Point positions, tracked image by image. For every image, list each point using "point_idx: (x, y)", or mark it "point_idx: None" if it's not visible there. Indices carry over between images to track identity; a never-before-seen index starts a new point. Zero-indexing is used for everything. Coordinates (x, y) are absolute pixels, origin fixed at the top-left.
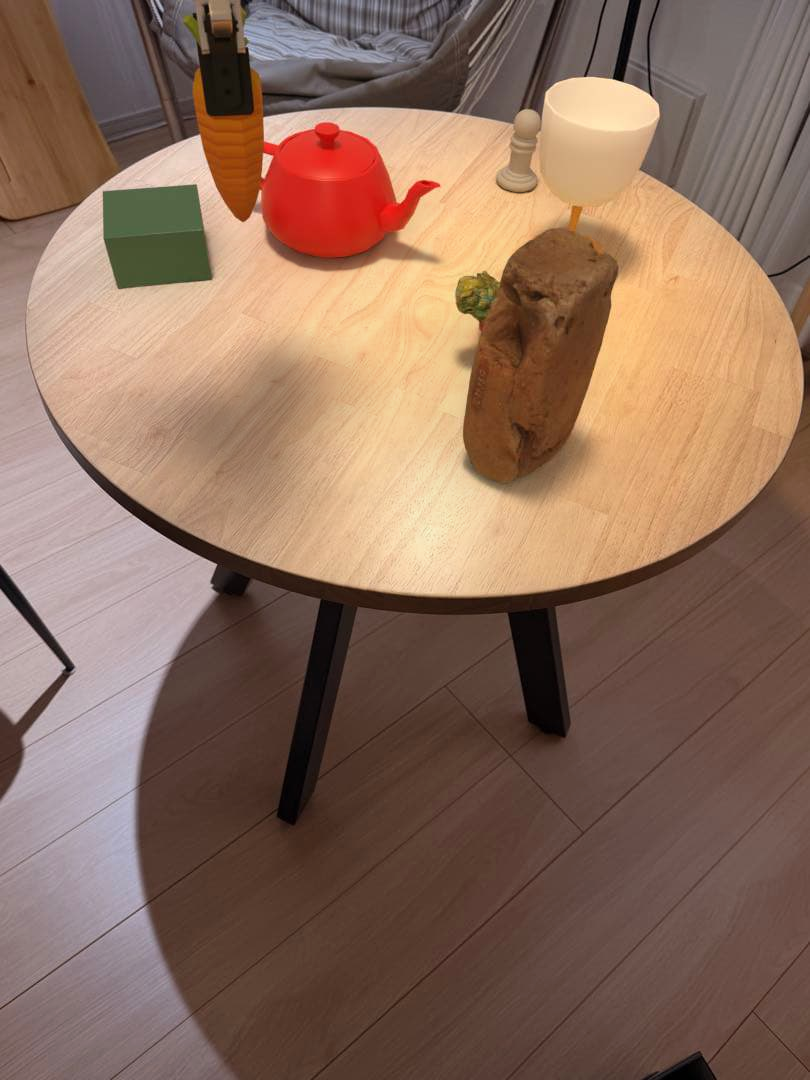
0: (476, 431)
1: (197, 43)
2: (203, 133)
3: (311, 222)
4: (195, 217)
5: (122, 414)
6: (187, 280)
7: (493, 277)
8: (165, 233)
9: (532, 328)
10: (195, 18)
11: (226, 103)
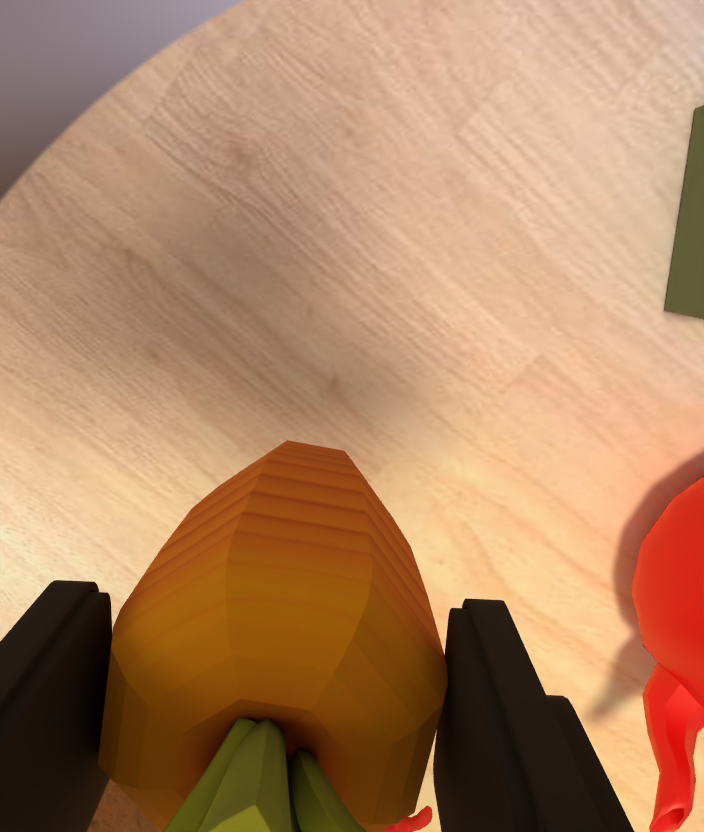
0: None
1: (500, 700)
2: (236, 493)
3: (688, 551)
4: None
5: (303, 92)
6: (673, 261)
7: (394, 824)
8: None
9: None
10: (540, 830)
11: None
